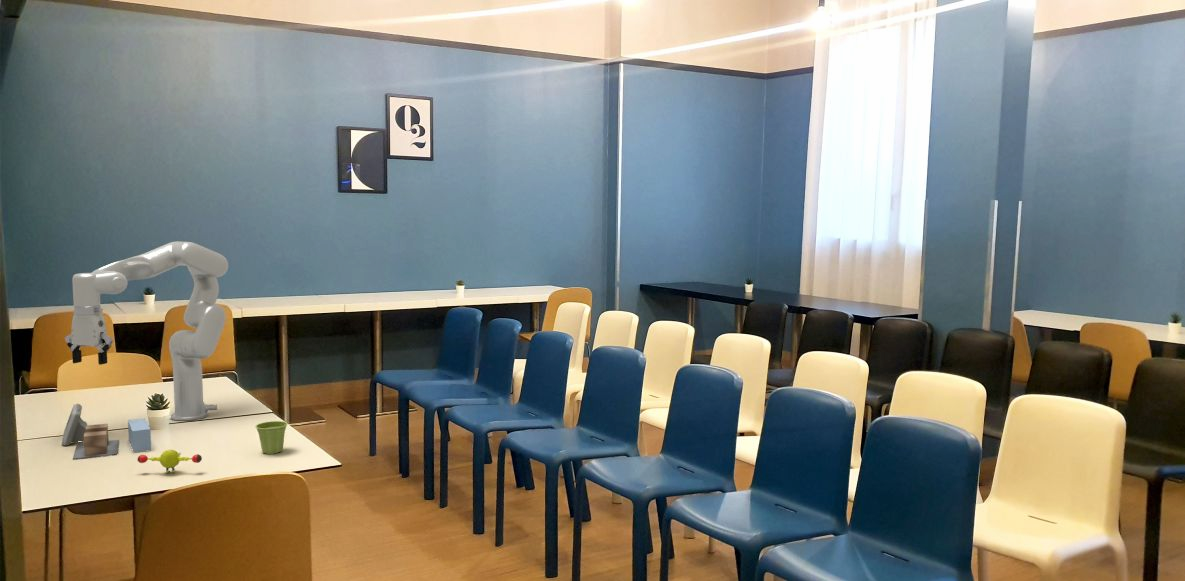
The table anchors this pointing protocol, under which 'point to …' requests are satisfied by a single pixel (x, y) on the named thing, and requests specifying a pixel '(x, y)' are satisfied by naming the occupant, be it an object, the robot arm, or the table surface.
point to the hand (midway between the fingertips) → (90, 363)
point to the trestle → (96, 443)
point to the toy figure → (169, 459)
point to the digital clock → (74, 426)
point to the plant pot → (271, 436)
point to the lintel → (139, 435)
